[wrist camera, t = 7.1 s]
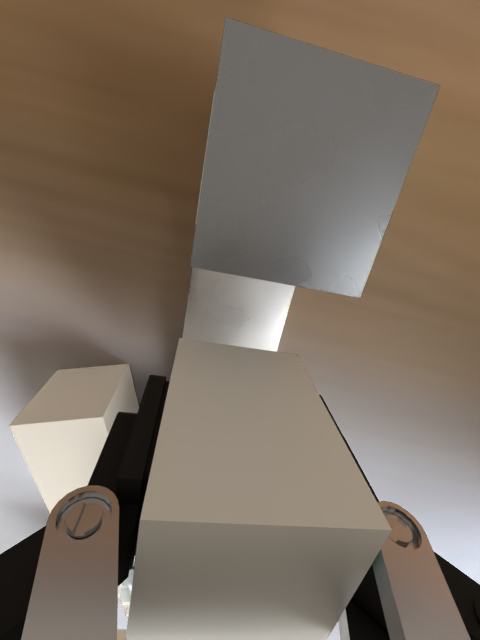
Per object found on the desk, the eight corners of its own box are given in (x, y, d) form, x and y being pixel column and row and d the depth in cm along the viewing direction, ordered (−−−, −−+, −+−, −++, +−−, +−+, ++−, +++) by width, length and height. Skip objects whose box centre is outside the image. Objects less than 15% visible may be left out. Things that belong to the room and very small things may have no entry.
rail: (329, 127, 13) (454, 58, 6) (233, 477, 21) (243, 612, 15) (218, 97, 12) (225, -20, 6) (163, 472, 21) (138, 612, 14)
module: (298, 354, 11) (394, 529, 5) (267, 451, 13) (314, 662, 7) (177, 337, 11) (136, 519, 5) (162, 443, 12) (119, 669, 7)
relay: (130, 362, 17) (103, 416, 13) (148, 440, 20) (130, 506, 16) (57, 368, 17) (7, 426, 13) (84, 446, 19) (49, 515, 15)
